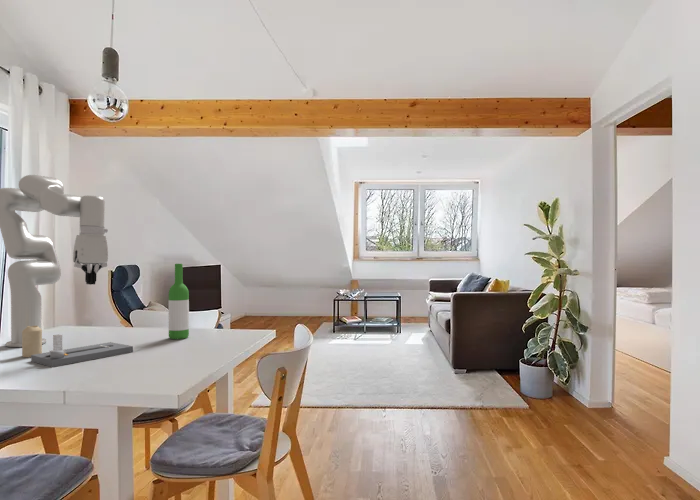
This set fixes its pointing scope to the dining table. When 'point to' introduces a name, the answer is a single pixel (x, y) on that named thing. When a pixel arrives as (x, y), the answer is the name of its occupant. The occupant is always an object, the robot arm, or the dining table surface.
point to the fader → (57, 343)
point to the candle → (31, 341)
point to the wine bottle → (178, 307)
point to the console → (81, 354)
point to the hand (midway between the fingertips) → (90, 284)
